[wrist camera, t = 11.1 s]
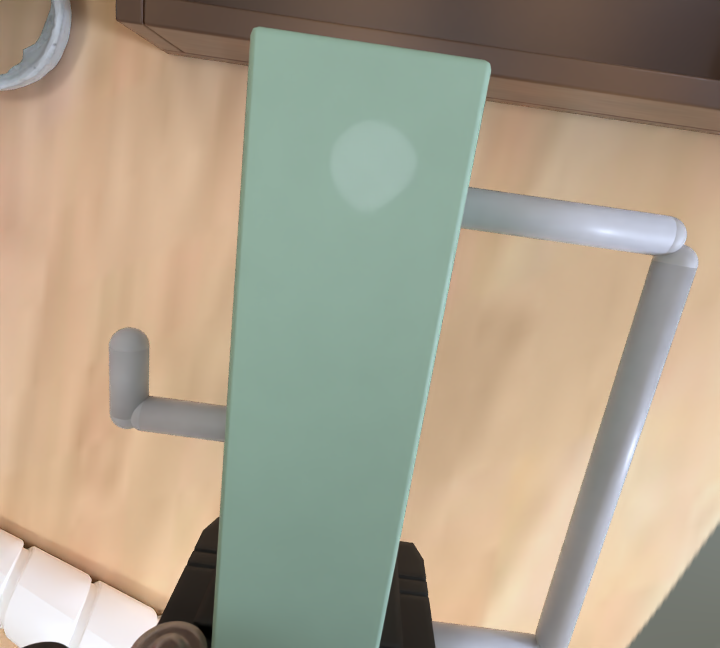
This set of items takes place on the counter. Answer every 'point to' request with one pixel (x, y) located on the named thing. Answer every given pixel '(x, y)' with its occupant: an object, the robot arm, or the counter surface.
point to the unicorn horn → (63, 603)
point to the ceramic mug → (42, 49)
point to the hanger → (372, 339)
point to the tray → (493, 45)
